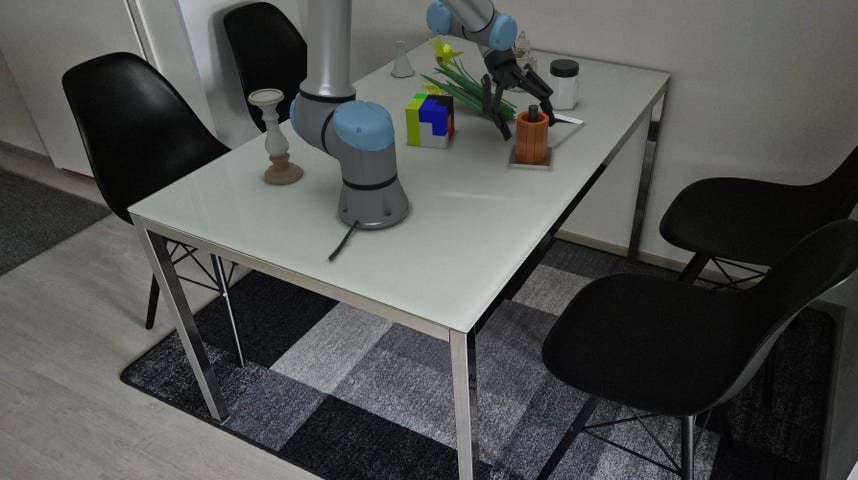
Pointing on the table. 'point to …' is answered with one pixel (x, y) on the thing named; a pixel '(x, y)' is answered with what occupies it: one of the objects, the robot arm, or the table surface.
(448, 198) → the table surface
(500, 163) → the table surface
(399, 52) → the flask
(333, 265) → the table surface
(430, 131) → the puzzle toy
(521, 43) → the ceramic cottage
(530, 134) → the orange hollow cylinder
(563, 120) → the cell phone
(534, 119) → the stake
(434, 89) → the daffodil flowers
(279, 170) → the candle holder
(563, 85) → the jar
